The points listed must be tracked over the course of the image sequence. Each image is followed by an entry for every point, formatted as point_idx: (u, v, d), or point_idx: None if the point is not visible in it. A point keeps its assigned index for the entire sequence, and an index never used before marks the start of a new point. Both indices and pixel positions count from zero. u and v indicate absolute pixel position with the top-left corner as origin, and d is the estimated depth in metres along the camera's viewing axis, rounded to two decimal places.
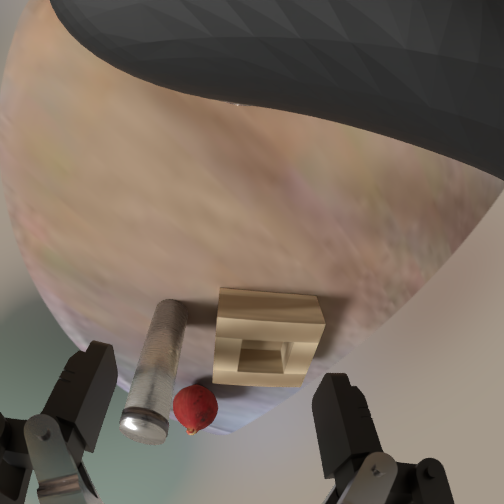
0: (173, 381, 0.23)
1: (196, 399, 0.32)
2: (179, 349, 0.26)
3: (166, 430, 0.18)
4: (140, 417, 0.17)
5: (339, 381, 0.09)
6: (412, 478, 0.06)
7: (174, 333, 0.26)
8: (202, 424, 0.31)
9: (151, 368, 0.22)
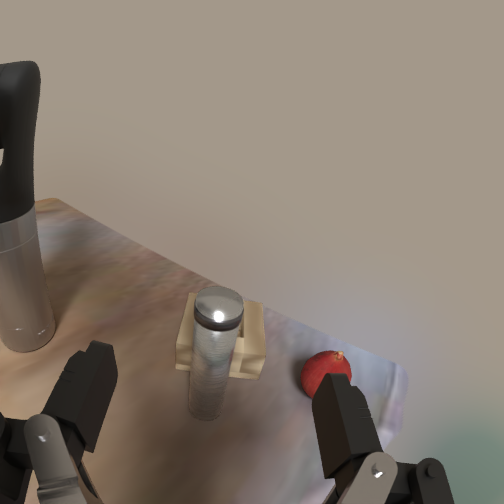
0: None
1: (304, 371, 0.31)
2: None
3: None
4: None
5: (339, 381, 0.09)
6: (412, 478, 0.06)
7: None
8: (327, 351, 0.30)
9: None
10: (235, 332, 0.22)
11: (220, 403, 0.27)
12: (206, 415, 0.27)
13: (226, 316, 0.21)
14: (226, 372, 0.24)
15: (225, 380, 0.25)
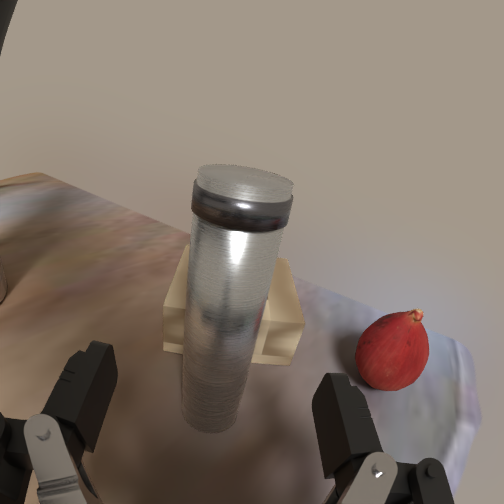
0: None
1: (363, 346, 0.19)
2: None
3: None
4: None
5: (339, 381, 0.09)
6: (412, 478, 0.06)
7: None
8: (397, 313, 0.19)
9: None
10: (277, 242, 0.11)
11: (237, 403, 0.15)
12: (212, 424, 0.15)
13: (263, 192, 0.10)
14: (252, 340, 0.13)
15: (249, 358, 0.14)
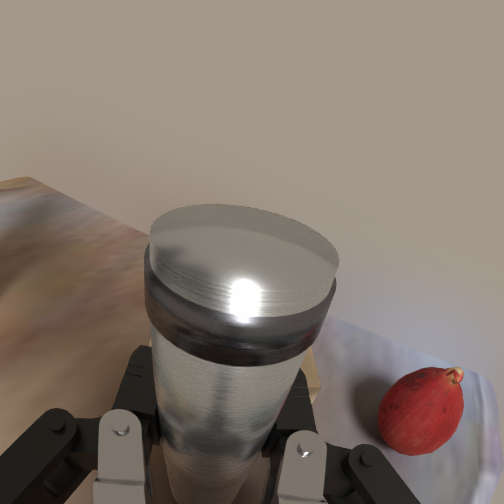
0: None
1: (390, 410, 0.14)
2: None
3: None
4: None
5: None
6: (347, 470, 0.06)
7: None
8: (431, 370, 0.14)
9: None
10: (302, 359, 0.06)
11: (235, 494, 0.10)
12: None
13: (285, 296, 0.04)
14: (255, 457, 0.08)
15: (250, 467, 0.08)
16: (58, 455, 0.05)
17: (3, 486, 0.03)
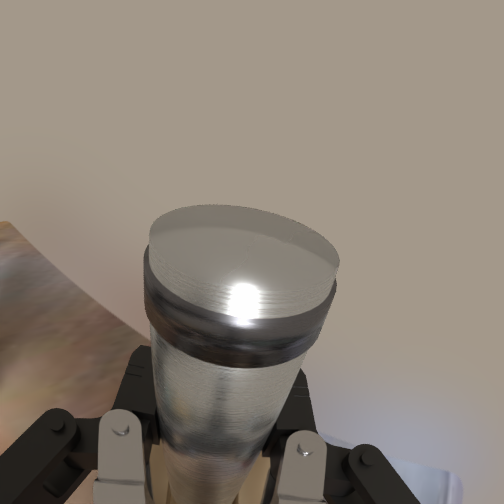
0: None
1: None
2: None
3: None
4: None
5: None
6: (347, 470, 0.06)
7: None
8: None
9: None
10: (302, 360, 0.06)
11: (235, 495, 0.10)
12: None
13: (285, 297, 0.04)
14: (255, 458, 0.08)
15: (250, 468, 0.08)
16: (58, 455, 0.05)
17: (3, 486, 0.03)
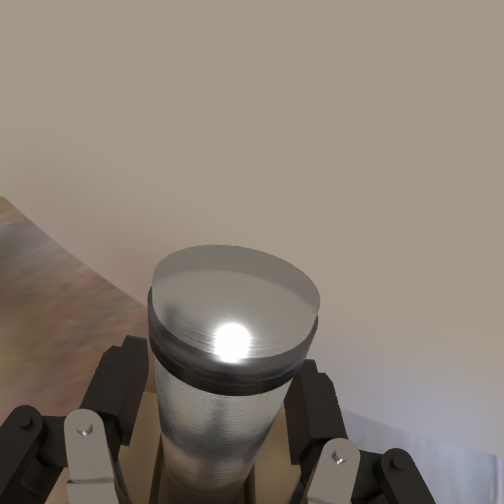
0: None
1: None
2: None
3: None
4: None
5: (306, 366, 0.10)
6: (378, 472, 0.06)
7: None
8: None
9: None
10: (288, 386, 0.06)
11: (232, 501, 0.10)
12: None
13: (269, 341, 0.05)
14: (249, 467, 0.08)
15: (246, 476, 0.09)
16: (29, 451, 0.05)
17: None
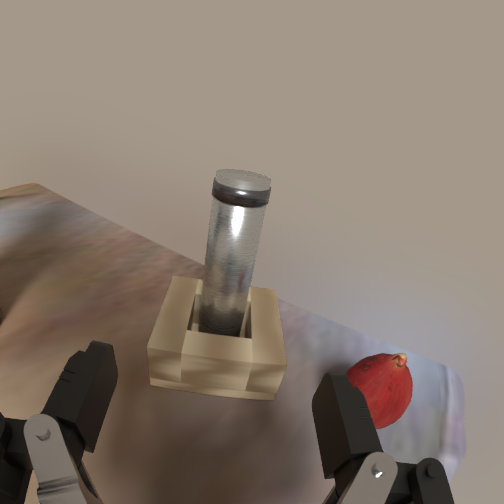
0: None
1: None
2: None
3: None
4: (214, 180, 0.19)
5: (339, 381, 0.09)
6: (412, 478, 0.06)
7: None
8: (381, 355, 0.19)
9: None
10: (261, 214, 0.19)
11: (237, 332, 0.23)
12: None
13: (252, 185, 0.18)
14: (247, 278, 0.21)
15: (245, 293, 0.22)
16: None
17: None
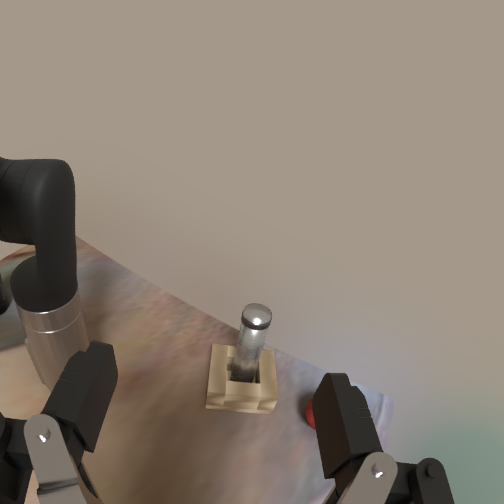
0: None
1: (308, 409, 0.37)
2: None
3: None
4: (242, 313, 0.37)
5: (339, 381, 0.09)
6: (412, 478, 0.06)
7: None
8: None
9: (237, 341, 0.39)
10: (266, 330, 0.37)
11: (252, 379, 0.42)
12: None
13: (262, 321, 0.36)
14: (258, 356, 0.39)
15: (257, 362, 0.40)
16: None
17: None
